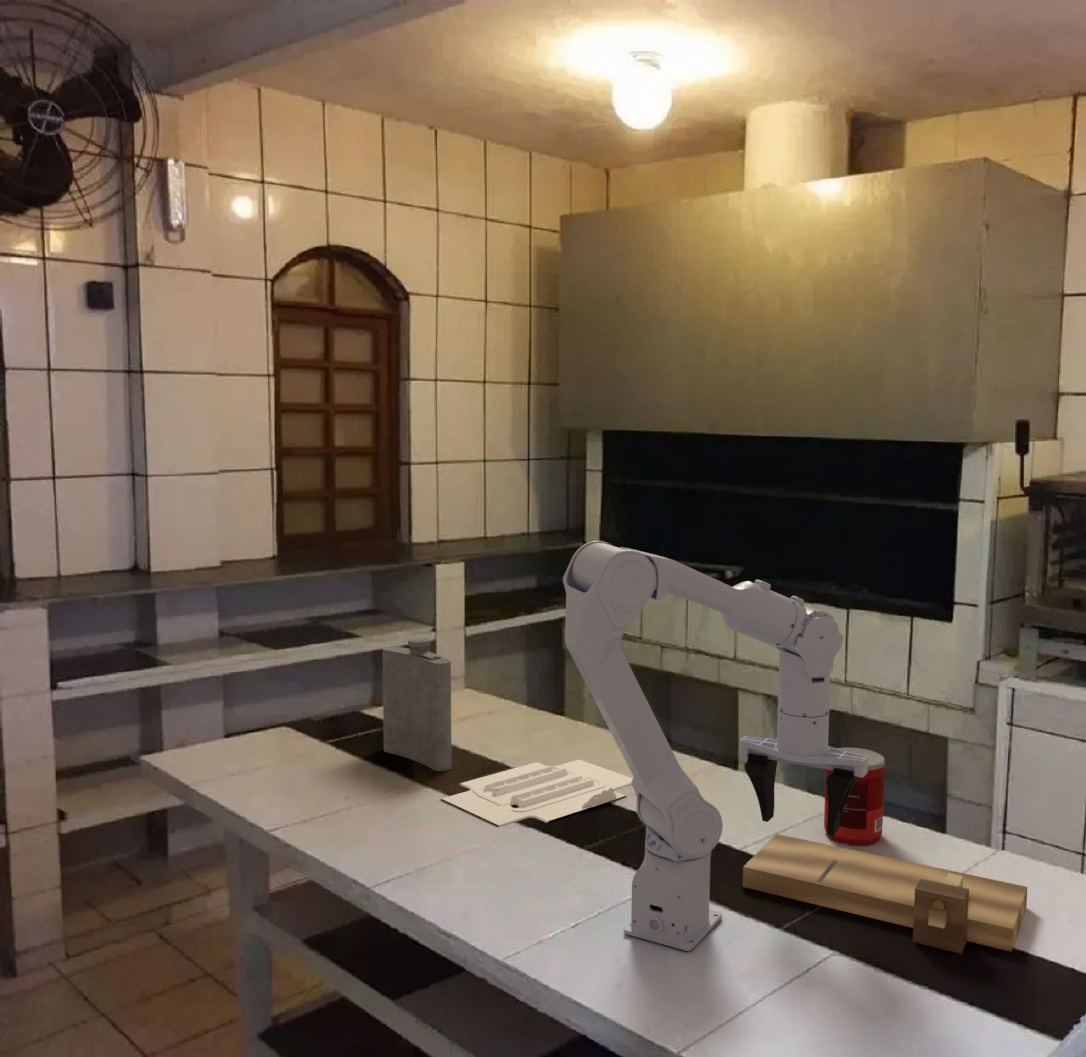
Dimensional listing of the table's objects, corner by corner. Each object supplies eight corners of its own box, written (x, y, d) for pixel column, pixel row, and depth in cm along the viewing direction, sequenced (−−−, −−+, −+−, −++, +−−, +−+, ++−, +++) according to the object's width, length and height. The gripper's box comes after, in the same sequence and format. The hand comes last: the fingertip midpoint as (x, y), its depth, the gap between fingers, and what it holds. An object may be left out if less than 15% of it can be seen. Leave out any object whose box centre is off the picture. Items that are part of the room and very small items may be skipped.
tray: (426, 798, 160) (427, 774, 160) (563, 765, 179) (564, 744, 178) (514, 839, 145) (515, 812, 144) (654, 799, 163) (655, 775, 163)
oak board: (1011, 951, 114) (1012, 929, 113) (742, 886, 129) (743, 866, 129) (1026, 907, 124) (1027, 886, 124) (775, 852, 139) (776, 833, 139)
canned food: (870, 823, 149) (873, 746, 148) (891, 846, 141) (894, 765, 140) (816, 823, 149) (818, 747, 148) (833, 846, 141) (836, 765, 140)
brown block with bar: (959, 958, 112) (962, 903, 112) (910, 945, 115) (912, 892, 114) (977, 916, 122) (979, 865, 121) (931, 905, 124) (933, 856, 124)
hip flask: (379, 750, 181) (378, 633, 179) (399, 744, 184) (397, 630, 182) (440, 772, 170) (439, 648, 168) (459, 766, 173) (459, 644, 170)
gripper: (876, 711, 122) (872, 826, 123) (754, 694, 129) (751, 802, 131) (860, 726, 116) (855, 847, 117) (733, 707, 123) (730, 821, 125)
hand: (799, 825), depth 124 cm, fingers open, 7 cm apart
